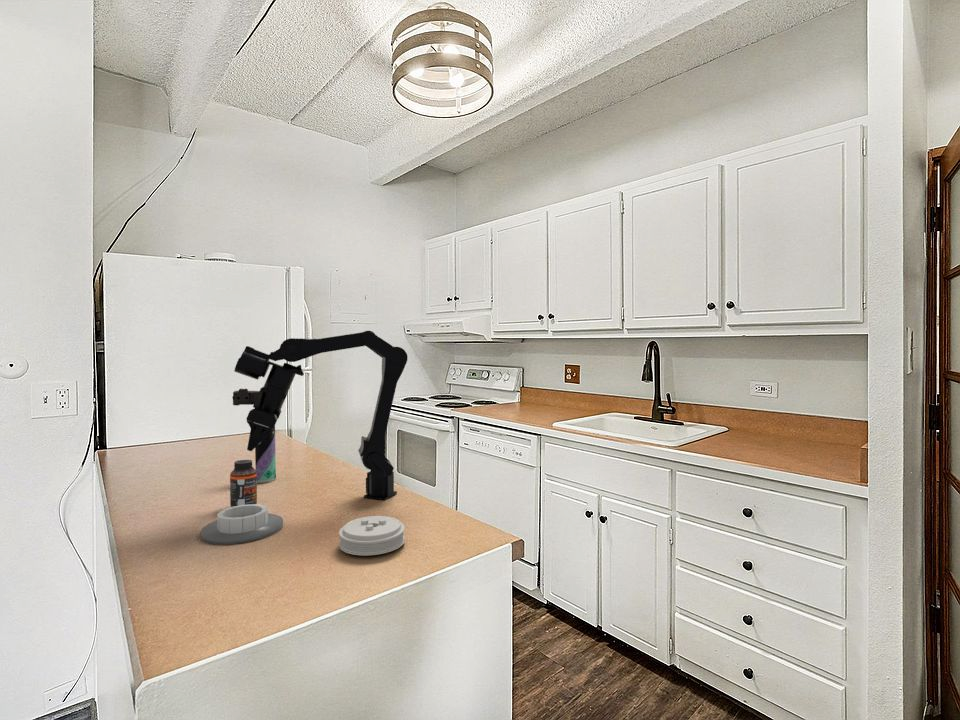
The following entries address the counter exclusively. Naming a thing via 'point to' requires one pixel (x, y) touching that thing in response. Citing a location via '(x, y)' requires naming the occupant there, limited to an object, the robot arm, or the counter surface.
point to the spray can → (266, 459)
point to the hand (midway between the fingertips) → (251, 446)
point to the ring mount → (241, 525)
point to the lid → (371, 535)
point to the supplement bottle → (243, 484)
